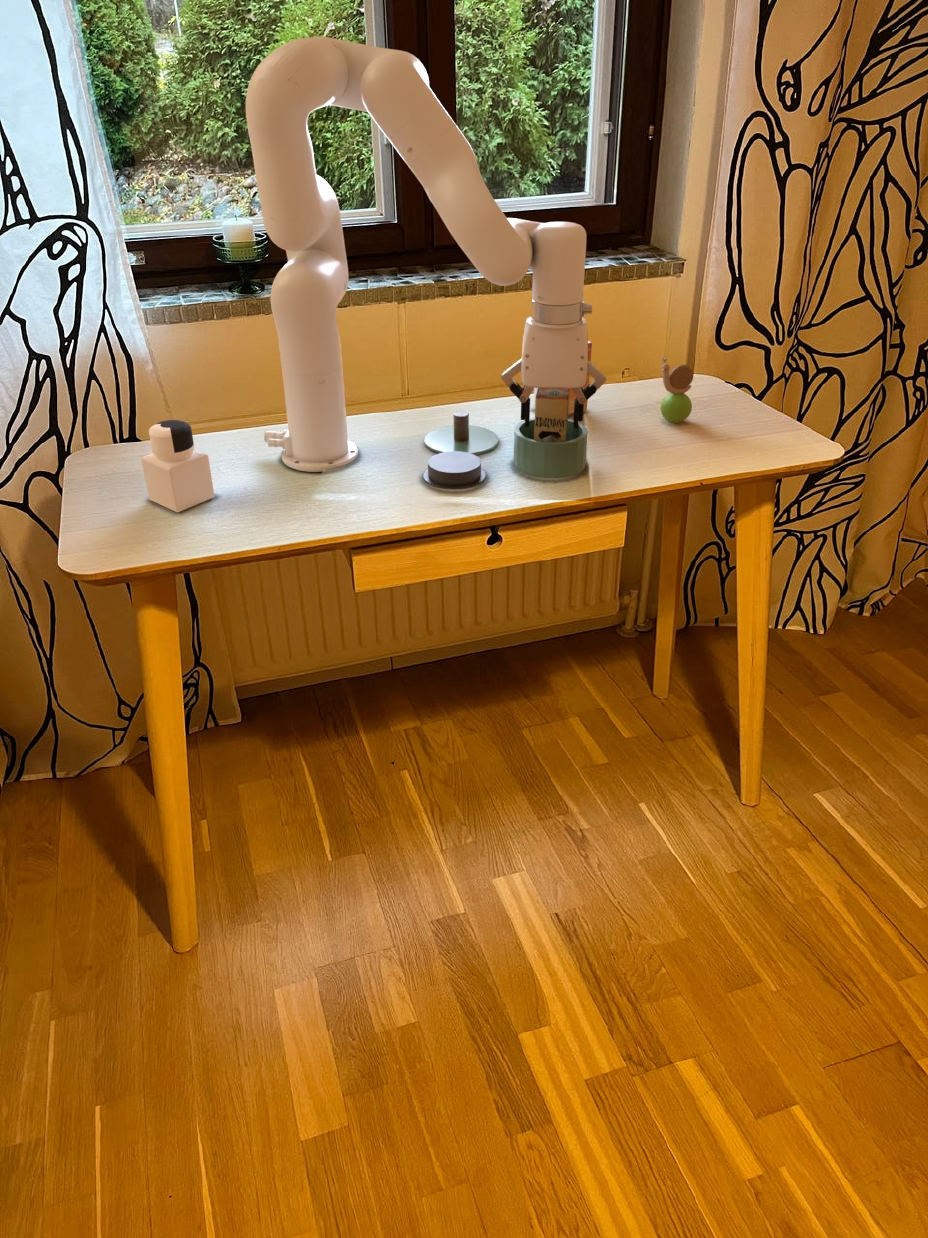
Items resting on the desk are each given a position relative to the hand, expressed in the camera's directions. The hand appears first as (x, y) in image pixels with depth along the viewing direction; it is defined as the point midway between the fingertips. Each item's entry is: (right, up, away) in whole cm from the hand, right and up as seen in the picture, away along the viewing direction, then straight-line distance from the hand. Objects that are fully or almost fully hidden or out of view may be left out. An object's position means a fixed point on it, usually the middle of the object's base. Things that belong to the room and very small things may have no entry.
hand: (551, 423), depth 155 cm
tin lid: (-14, -1, +11) cm, 18 cm away
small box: (+4, +7, +25) cm, 26 cm away
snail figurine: (+23, +4, +20) cm, 31 cm away
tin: (0, -6, +4) cm, 7 cm away
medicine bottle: (-57, -13, -6) cm, 59 cm away
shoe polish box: (0, -6, +4) cm, 7 cm away
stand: (-15, -9, 0) cm, 18 cm away
